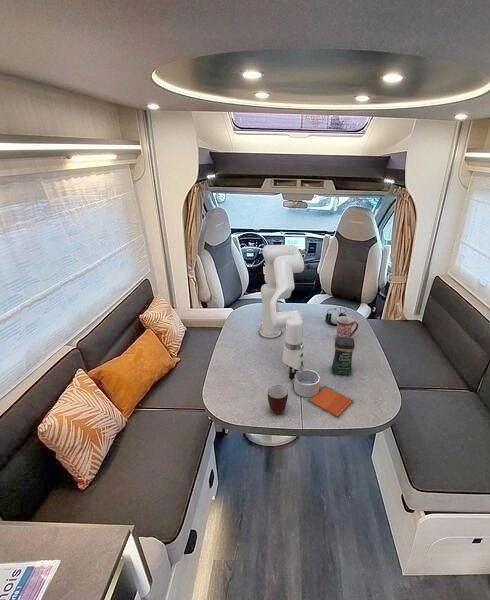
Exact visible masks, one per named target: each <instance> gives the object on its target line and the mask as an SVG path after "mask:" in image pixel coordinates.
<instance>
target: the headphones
mask: <svg viewBox="0 0 490 600" xmlns="http://www.w3.org/2000/svg"><path fill="white" fill-rule="evenodd" d="M343 309H344V311H343V312H342V307H340V308H339V310H340V311H339V313H338V317H341V316H346V317H348V316H347V315H346V312H347V310H346V308H345V307H343ZM330 310H335V311H336V310H337V308H336V307H335V308H329V309H328V311H326V312H327V313H326V314H325V318H324V320H325V322H326V324H327V325H329V326H331V327H335V328H337V323H335V322H332V316H333V314H332V313H330V312H329V311H330Z"/></svg>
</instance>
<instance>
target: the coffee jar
mask: <svg viewBox="0 0 490 600" xmlns="http://www.w3.org/2000/svg"><path fill="white" fill-rule="evenodd" d="M355 343H356V342H355V339H354V337H350V338H348V337H337V336H336V337H335V341H334V356H333V359H332V363H331V371H332V373H334V374H335V375H341V376H348V375H351V373H352V368H353V367H352V364H353V363H352V362H353V352H354V351H355V349H356V348H355Z"/></svg>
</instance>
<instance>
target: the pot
mask: <svg viewBox="0 0 490 600" xmlns="http://www.w3.org/2000/svg"><path fill="white" fill-rule="evenodd" d="M293 380H294V383H293V387H294V388H293V389H294V392H295V394H297V395H299V396H300V397H303V398H313V397H314V396H315V395H316V394H317V393H318V392H320V386H321V377H320V374H319V373H318V372H317V371H315V370H312V369H303V371H302V372H298V371H297V372H296V374H295V378H294V379H293Z"/></svg>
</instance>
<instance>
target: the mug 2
mask: <svg viewBox="0 0 490 600" xmlns="http://www.w3.org/2000/svg"><path fill="white" fill-rule="evenodd" d="M346 316H347V315H346ZM346 316H341V317H339V316H338V317H337V318H336V322H337V323H336V324H337V327H336V337H348V338H352V336H353V335H354V334H355V333H356V332H357V331H358V329H359V322H357V321H354V319H353V318H352V317H349V316H347V317H346ZM354 325H356V326H355V328H354V329H353V331H352V327H353V326H354Z"/></svg>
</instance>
